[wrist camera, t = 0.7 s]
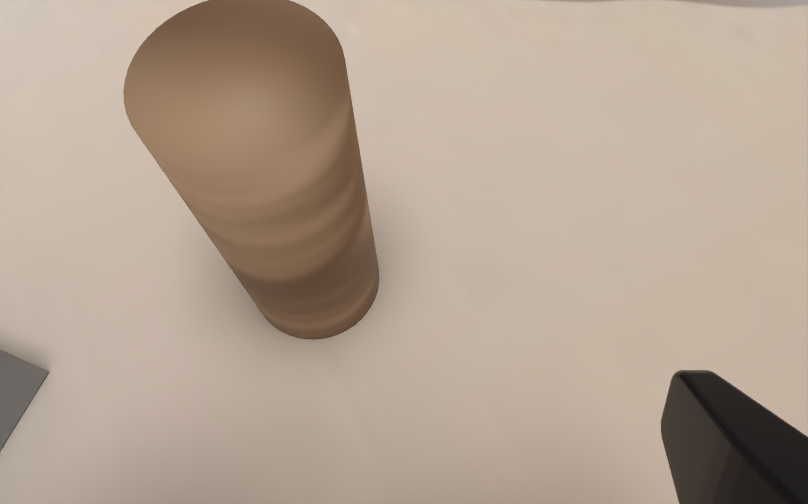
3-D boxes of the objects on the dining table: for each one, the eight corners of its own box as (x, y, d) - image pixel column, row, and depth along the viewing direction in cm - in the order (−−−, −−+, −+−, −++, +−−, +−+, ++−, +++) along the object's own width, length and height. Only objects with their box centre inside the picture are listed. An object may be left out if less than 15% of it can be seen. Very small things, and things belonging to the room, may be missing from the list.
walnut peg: (350, 357, 24) (287, 198, 13) (232, 314, 24) (80, 130, 14) (397, 245, 25) (378, 24, 15) (287, 208, 26) (192, -26, 15)
